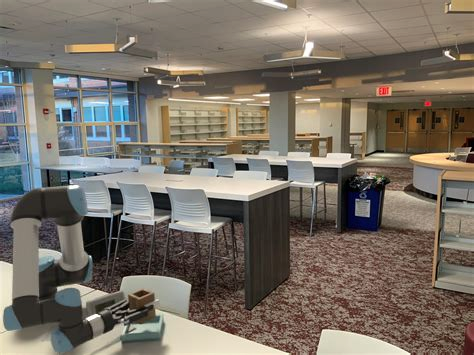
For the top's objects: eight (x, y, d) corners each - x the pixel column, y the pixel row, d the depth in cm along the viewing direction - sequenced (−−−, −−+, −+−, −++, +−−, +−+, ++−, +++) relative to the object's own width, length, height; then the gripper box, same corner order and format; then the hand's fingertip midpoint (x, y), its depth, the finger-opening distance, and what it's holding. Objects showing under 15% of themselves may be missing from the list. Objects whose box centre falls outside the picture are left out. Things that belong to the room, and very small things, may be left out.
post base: (53, 329, 151) (50, 304, 149) (81, 327, 152) (79, 302, 150) (41, 344, 140) (38, 318, 138) (72, 342, 141) (69, 316, 139)
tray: (128, 323, 154) (128, 316, 153) (163, 321, 155) (163, 314, 155) (121, 343, 140) (120, 335, 140) (159, 340, 141) (159, 332, 141)
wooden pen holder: (129, 318, 146) (128, 294, 144) (144, 311, 151) (143, 288, 150) (140, 324, 141) (139, 299, 140) (155, 317, 147) (154, 292, 145)
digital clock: (89, 331, 149) (87, 305, 147) (85, 321, 156) (83, 297, 155) (130, 320, 157) (129, 295, 155) (125, 310, 164) (124, 287, 163)
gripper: (85, 324, 139) (138, 301, 156) (116, 344, 126) (169, 316, 143) (83, 305, 138) (136, 284, 155) (114, 322, 125) (168, 297, 142)
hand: (152, 299), depth 149 cm, fingers closed on wooden pen holder, 7 cm apart
